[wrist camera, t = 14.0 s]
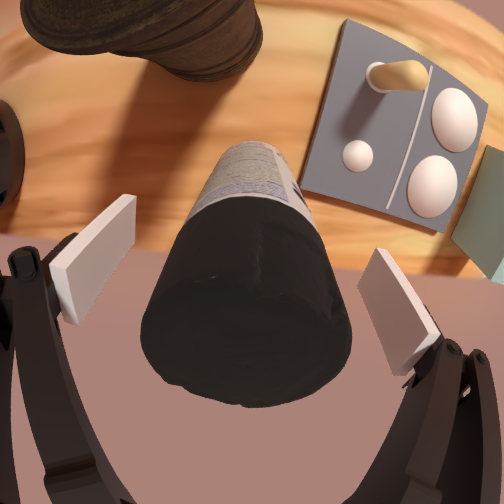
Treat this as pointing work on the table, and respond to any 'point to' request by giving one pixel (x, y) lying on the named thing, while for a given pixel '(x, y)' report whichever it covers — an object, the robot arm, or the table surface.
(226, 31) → the container
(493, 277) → the pale green block
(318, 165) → the slate board
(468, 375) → the robot arm
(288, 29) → the table surface
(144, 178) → the table surface
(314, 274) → the spray can
